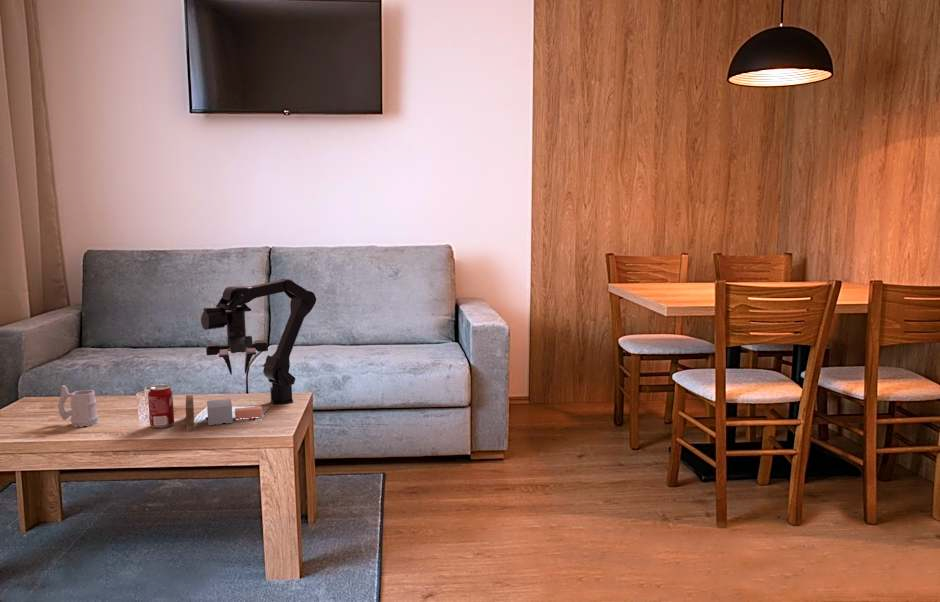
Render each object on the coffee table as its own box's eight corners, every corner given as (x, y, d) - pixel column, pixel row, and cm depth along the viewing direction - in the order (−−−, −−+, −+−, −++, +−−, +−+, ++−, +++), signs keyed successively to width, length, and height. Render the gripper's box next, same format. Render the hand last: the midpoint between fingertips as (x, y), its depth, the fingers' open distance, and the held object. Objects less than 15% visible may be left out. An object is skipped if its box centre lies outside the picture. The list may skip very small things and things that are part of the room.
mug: (90, 427, 217) (87, 388, 215) (52, 427, 217) (48, 388, 216) (104, 420, 224) (101, 382, 223) (67, 420, 225) (64, 382, 223)
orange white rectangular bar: (261, 415, 229) (261, 406, 228) (262, 418, 226) (262, 408, 225) (235, 418, 226) (234, 408, 226) (235, 421, 223) (235, 411, 223)
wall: (194, 416, 228) (192, 394, 227) (194, 430, 213) (192, 407, 212) (187, 417, 227) (186, 395, 226) (186, 431, 212) (185, 408, 211)
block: (231, 414, 228) (230, 398, 228) (232, 422, 220) (231, 405, 219) (207, 417, 226) (206, 400, 225) (208, 425, 217) (207, 408, 217)
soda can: (169, 429, 215) (166, 389, 213) (146, 429, 215) (143, 389, 213) (177, 422, 221) (175, 384, 220) (155, 422, 221) (153, 384, 220)
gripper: (205, 332, 220) (208, 382, 222) (268, 328, 227) (270, 376, 229) (204, 326, 230) (207, 374, 232) (265, 322, 237) (267, 369, 239)
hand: (238, 373), depth 233 cm, fingers open, 4 cm apart
